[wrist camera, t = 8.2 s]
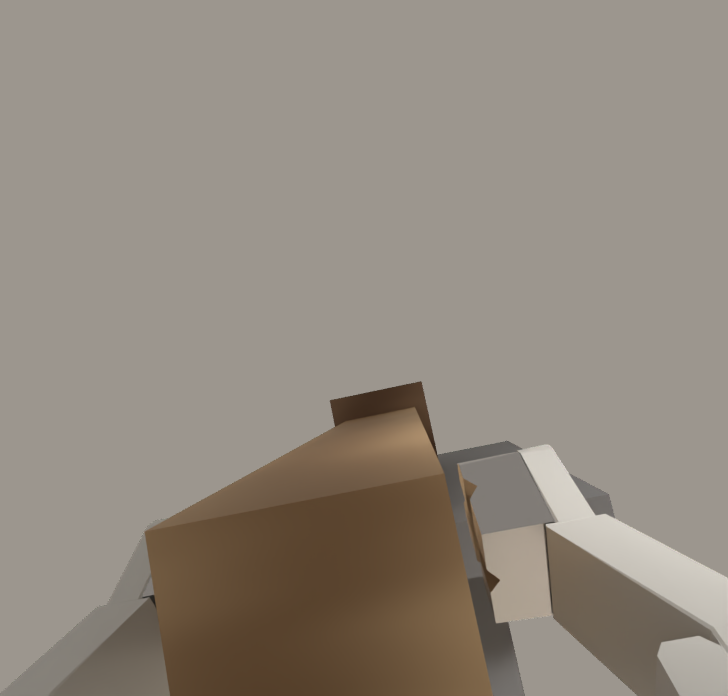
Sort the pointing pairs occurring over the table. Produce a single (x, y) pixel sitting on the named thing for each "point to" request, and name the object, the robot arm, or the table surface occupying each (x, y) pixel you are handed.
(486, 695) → the oak shaft
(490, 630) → the charcoal stand
